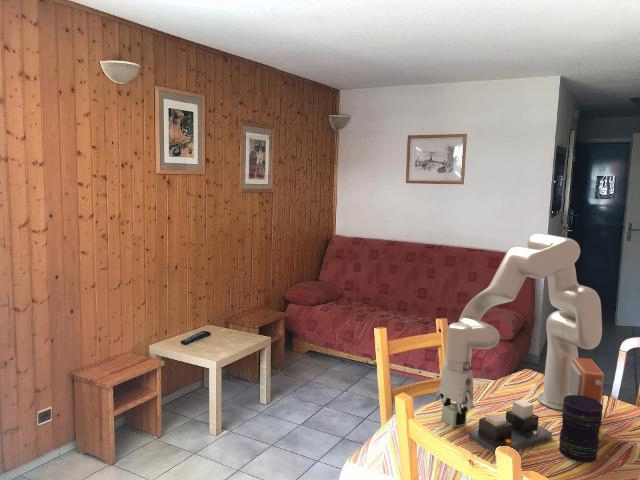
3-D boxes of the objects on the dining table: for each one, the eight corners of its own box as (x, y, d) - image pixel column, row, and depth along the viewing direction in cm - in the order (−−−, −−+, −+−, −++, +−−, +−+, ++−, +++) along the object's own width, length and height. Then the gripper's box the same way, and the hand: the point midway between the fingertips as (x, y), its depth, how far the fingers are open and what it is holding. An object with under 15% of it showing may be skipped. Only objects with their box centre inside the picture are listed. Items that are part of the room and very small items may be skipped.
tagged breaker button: (494, 429, 155) (495, 413, 155) (505, 435, 152) (506, 419, 151) (484, 432, 154) (485, 416, 153) (494, 439, 150) (496, 422, 149)
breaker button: (521, 414, 160) (522, 399, 160) (531, 420, 157) (533, 404, 156) (511, 417, 158) (513, 401, 158) (522, 423, 155) (524, 407, 154)
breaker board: (521, 422, 165) (522, 404, 164) (551, 438, 155) (553, 419, 154) (468, 438, 154) (470, 418, 153) (497, 456, 145) (499, 436, 144)
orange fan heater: (585, 423, 166) (600, 447, 151) (561, 420, 167) (574, 444, 153) (592, 357, 163) (608, 376, 148) (568, 355, 164) (581, 373, 150)
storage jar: (592, 446, 152) (597, 397, 149) (602, 465, 142) (608, 413, 140) (554, 441, 154) (559, 393, 152) (562, 459, 144) (567, 408, 142)
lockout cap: (453, 416, 167) (455, 399, 167) (465, 423, 163) (467, 406, 162) (441, 419, 165) (442, 402, 164) (452, 427, 160) (454, 409, 160)
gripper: (487, 372, 156) (482, 430, 158) (447, 353, 170) (444, 406, 173) (468, 376, 152) (464, 435, 155) (429, 356, 167) (426, 410, 169)
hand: (453, 419), depth 164 cm, fingers closed on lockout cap, 5 cm apart
